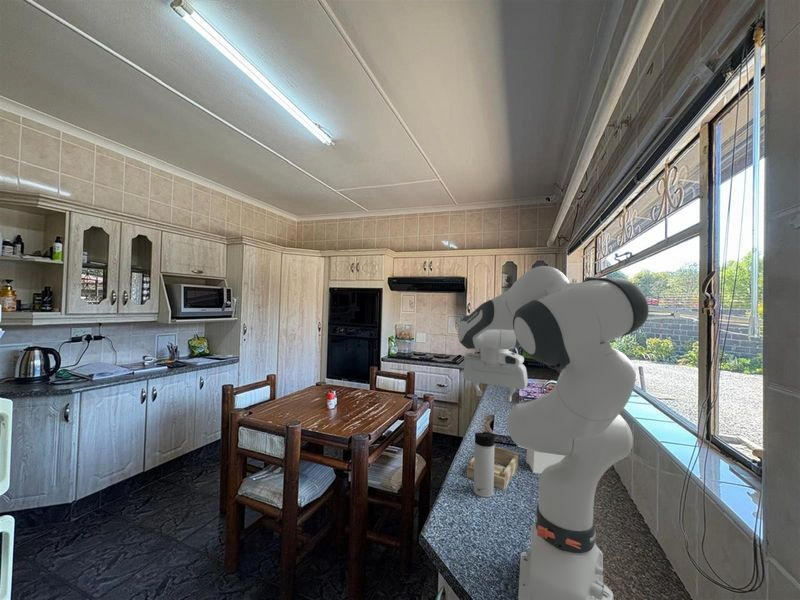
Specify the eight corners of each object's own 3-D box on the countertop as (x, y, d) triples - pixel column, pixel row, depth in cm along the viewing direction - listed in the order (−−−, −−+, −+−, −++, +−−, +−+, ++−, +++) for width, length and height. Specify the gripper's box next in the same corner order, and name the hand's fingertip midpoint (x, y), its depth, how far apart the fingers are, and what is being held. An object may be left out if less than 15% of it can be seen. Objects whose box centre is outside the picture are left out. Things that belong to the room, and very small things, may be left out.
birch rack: (504, 494, 104) (504, 472, 104) (466, 481, 111) (467, 460, 111) (517, 471, 119) (518, 452, 119) (484, 461, 126) (484, 443, 126)
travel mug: (479, 502, 98) (481, 437, 99) (470, 490, 105) (471, 429, 105) (497, 499, 100) (499, 436, 100) (487, 488, 106) (488, 428, 106)
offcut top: (498, 479, 106) (498, 473, 106) (473, 471, 111) (473, 465, 111) (502, 473, 110) (502, 467, 110) (477, 465, 115) (477, 460, 115)
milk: (558, 464, 125) (559, 398, 125) (568, 480, 113) (569, 407, 114) (526, 461, 127) (527, 396, 127) (532, 476, 116) (534, 405, 116)
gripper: (460, 353, 106) (459, 394, 106) (524, 360, 95) (523, 406, 94) (467, 351, 111) (466, 390, 111) (529, 357, 100) (528, 401, 99)
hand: (493, 398), depth 102 cm, fingers open, 8 cm apart
